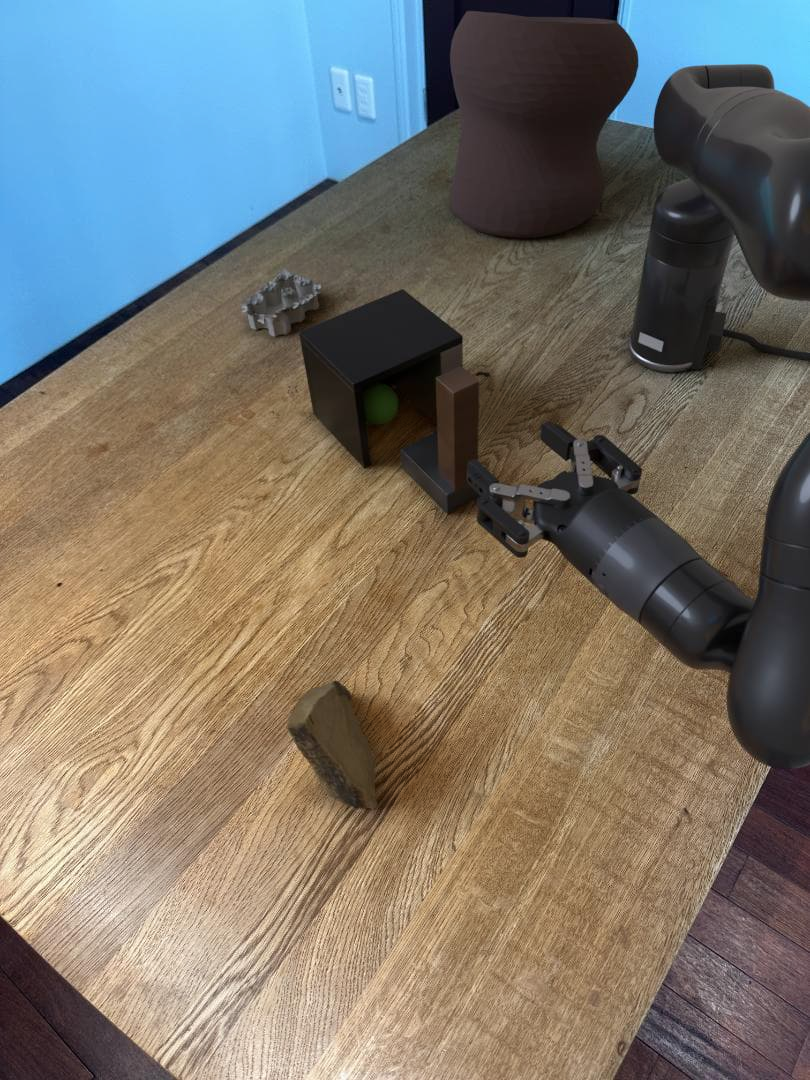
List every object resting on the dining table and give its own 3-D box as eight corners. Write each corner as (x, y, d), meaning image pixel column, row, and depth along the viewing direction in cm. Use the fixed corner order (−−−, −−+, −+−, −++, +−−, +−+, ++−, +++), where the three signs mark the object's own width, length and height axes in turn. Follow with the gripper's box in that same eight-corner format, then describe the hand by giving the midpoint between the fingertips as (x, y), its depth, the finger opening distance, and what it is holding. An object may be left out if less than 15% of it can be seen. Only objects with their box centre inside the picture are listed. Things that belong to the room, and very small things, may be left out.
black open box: (463, 420, 98) (462, 335, 88) (364, 468, 93) (353, 384, 84) (408, 371, 104) (402, 288, 95) (313, 414, 100) (298, 331, 91)
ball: (403, 378, 95) (395, 398, 100) (361, 371, 95) (355, 392, 99) (400, 415, 94) (392, 435, 98) (357, 409, 93) (351, 428, 98)
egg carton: (280, 341, 110) (274, 316, 107) (239, 325, 114) (233, 300, 110) (328, 303, 116) (324, 277, 113) (288, 288, 119) (284, 263, 116)
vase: (629, 240, 123) (667, 13, 100) (451, 248, 124) (448, 25, 102) (603, 161, 140) (630, -47, 118) (447, 169, 142) (444, -36, 119)
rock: (298, 663, 73) (245, 753, 66) (347, 626, 67) (294, 720, 60) (389, 733, 75) (347, 827, 68) (444, 703, 69) (404, 802, 62)
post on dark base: (484, 495, 89) (487, 377, 77) (447, 514, 87) (445, 397, 75) (437, 450, 94) (433, 333, 82) (401, 468, 93) (392, 351, 81)
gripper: (705, 487, 65) (570, 385, 74) (568, 568, 60) (443, 449, 70) (685, 547, 71) (563, 446, 80) (559, 626, 66) (445, 509, 75)
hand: (507, 448), depth 75 cm, fingers open, 8 cm apart
